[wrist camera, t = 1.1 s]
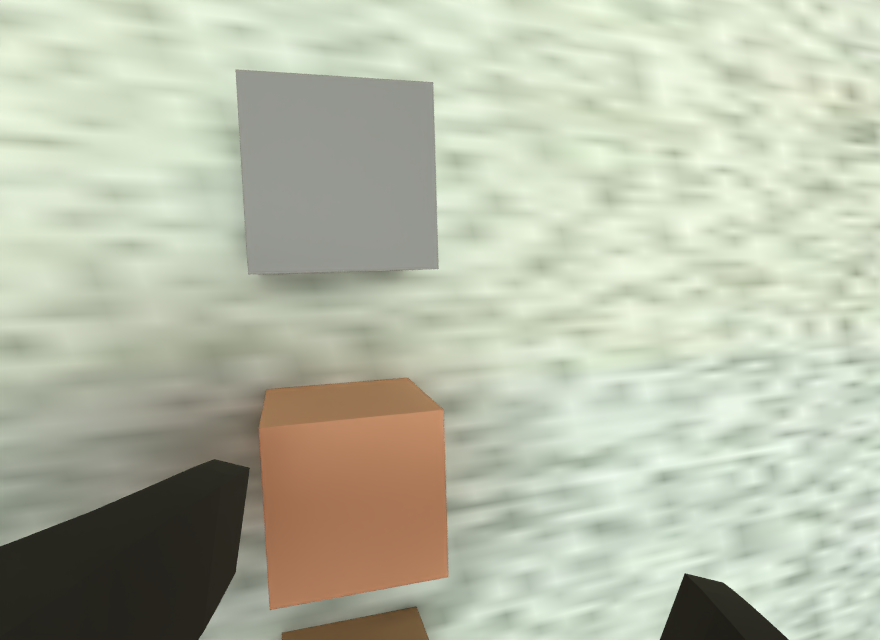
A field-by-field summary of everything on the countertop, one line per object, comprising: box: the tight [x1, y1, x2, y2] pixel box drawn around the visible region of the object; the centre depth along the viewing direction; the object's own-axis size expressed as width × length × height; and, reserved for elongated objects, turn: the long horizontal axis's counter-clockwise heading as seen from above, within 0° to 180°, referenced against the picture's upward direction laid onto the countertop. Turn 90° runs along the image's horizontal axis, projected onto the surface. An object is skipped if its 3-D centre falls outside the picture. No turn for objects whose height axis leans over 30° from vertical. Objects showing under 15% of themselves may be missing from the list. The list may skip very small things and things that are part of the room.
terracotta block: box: [259, 378, 448, 610], centre depth 17 cm, size 5×5×5 cm
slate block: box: [236, 70, 438, 274], centre depth 17 cm, size 5×5×5 cm
